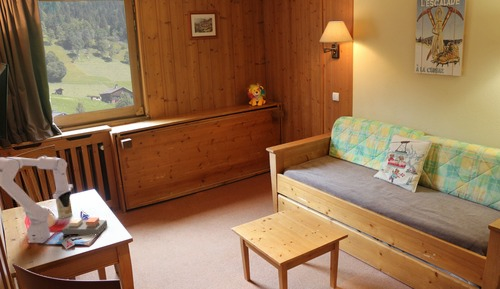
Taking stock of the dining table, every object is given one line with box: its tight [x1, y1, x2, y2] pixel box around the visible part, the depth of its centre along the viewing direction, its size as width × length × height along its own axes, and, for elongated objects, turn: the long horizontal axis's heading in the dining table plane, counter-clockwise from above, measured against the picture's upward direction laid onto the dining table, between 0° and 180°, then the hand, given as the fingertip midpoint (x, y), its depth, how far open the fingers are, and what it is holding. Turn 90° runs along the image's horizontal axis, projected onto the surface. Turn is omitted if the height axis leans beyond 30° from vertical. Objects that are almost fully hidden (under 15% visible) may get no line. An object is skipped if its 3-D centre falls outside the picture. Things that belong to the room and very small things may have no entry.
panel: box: [61, 219, 108, 236], centre depth 210 cm, size 10×18×3 cm, turn 82°
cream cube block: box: [68, 218, 83, 227], centre depth 211 cm, size 5×5×5 cm
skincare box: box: [55, 197, 73, 219], centre depth 227 cm, size 6×4×12 cm
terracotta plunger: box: [86, 217, 100, 227], centre depth 209 cm, size 5×5×5 cm
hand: (66, 206), depth 215 cm, fingers closed
